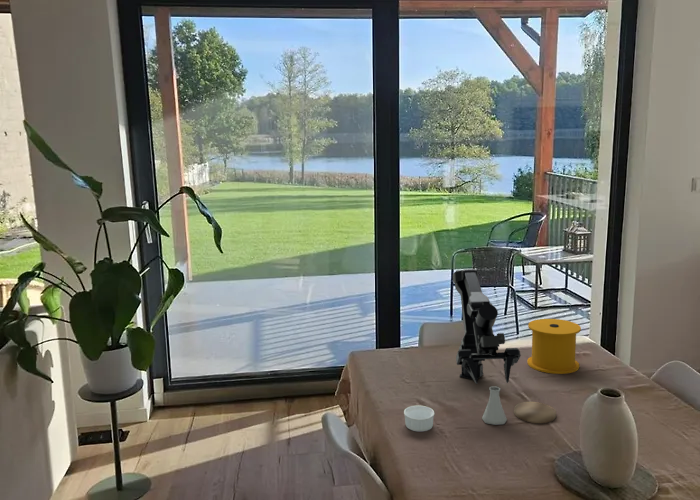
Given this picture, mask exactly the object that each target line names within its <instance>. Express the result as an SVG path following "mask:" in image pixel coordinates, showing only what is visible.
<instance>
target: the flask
mask: <svg viewBox="0 0 700 500" xmlns="http://www.w3.org/2000/svg"><path fill="white" fill-rule="evenodd" d="M488 389H489V397H488V398H489V399H488V401H487V403H486V407H485V410H484V412H483V414H482V417H481V419H482V421H483V422H484V423H485V424H489V425H493V426H496V425H497V426H498V425H505V424H506V422H507V421H508V420H507V416H506V413H505V411H504V408H503V405H502V402H501V397H500V391H501V388H500V387H499V386H495V385H494V386H489V388H488Z"/></svg>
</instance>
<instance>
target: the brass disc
mask: <svg viewBox="0 0 700 500" xmlns="http://www.w3.org/2000/svg"><path fill="white" fill-rule="evenodd" d="M513 414H514V416H515V417H516V418H518V419H520V420H521V421H523V422H527V423H532V424H548V423H551V422H553V421H555V420H556V418H557V411H556V409H555V408H554V407H553V406H551V405H549V404H547V403H543V402H538V401H523V402H522V401H521V402H519V403H517V404H515V406H514V407H513Z"/></svg>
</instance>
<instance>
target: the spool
mask: <svg viewBox="0 0 700 500" xmlns="http://www.w3.org/2000/svg"><path fill="white" fill-rule="evenodd" d="M527 328H528V329H529V330H530V331H531V332H532V336H531V356H530V357H528V358H527V361H526V362H527V365H528V367H530V368H531V369H533V370H535V371H539V372H542V373H546V374H554V375H563V374H571V373H575V372H577V371H578V370H579V368H580V363H579V362H578V361H577V360H576V350H577V334H579V333H581V331H582V326H580V325H579V324H578V323H576V322H573V321H571V320H566V319H559V318H539V319H534V320H531V321H530V322H528V325H527Z"/></svg>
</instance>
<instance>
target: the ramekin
mask: <svg viewBox="0 0 700 500" xmlns="http://www.w3.org/2000/svg"><path fill="white" fill-rule="evenodd" d="M403 415H404V423H405V426H406V428H407V429H409V430H410V431H413V432H422V433H423V432H427V431H430V430H431V429H432V428H433V425H434V416H435V411H434V410H433V408H431V407H429V406H425V405H410V406H408V407H406V408H405V409H404V410H403Z"/></svg>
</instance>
